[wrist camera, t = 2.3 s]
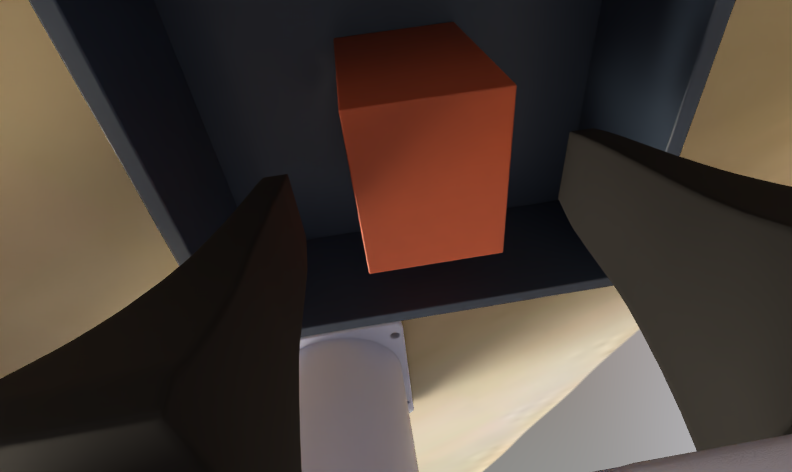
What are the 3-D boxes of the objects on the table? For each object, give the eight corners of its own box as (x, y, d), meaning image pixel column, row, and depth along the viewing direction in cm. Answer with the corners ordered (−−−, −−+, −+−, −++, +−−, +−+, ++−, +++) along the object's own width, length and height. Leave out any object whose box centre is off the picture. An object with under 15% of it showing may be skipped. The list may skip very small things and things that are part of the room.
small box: (455, 156, 17) (503, 252, 13) (356, 170, 17) (369, 274, 13) (454, 20, 14) (518, 84, 10) (333, 37, 14) (337, 110, 9)
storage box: (247, 250, 20) (226, 350, 15) (112, -74, 12) (-4, -55, 8) (568, 200, 20) (634, 282, 16) (634, -139, 13) (793, -154, 8)
